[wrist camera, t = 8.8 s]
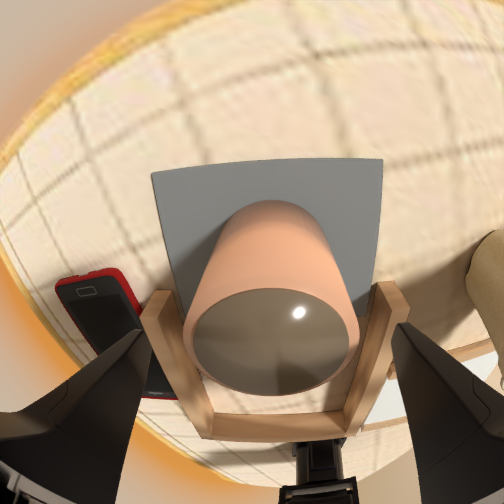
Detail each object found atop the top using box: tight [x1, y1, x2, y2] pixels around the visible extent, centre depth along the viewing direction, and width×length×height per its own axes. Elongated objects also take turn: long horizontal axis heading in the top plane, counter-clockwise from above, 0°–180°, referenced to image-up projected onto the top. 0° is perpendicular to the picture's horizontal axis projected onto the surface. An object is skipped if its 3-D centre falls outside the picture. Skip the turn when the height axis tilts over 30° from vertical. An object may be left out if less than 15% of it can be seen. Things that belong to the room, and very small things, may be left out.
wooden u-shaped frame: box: [139, 281, 410, 443], centre depth 19 cm, size 17×15×3 cm
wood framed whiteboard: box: [361, 338, 498, 432], centre depth 20 cm, size 17×12×1 cm
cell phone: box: [55, 268, 178, 400], centre depth 20 cm, size 8×15×1 cm, turn 15°
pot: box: [183, 200, 360, 396], centre depth 12 cm, size 6×6×7 cm
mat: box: [152, 158, 383, 318], centre depth 15 cm, size 10×12×1 cm
